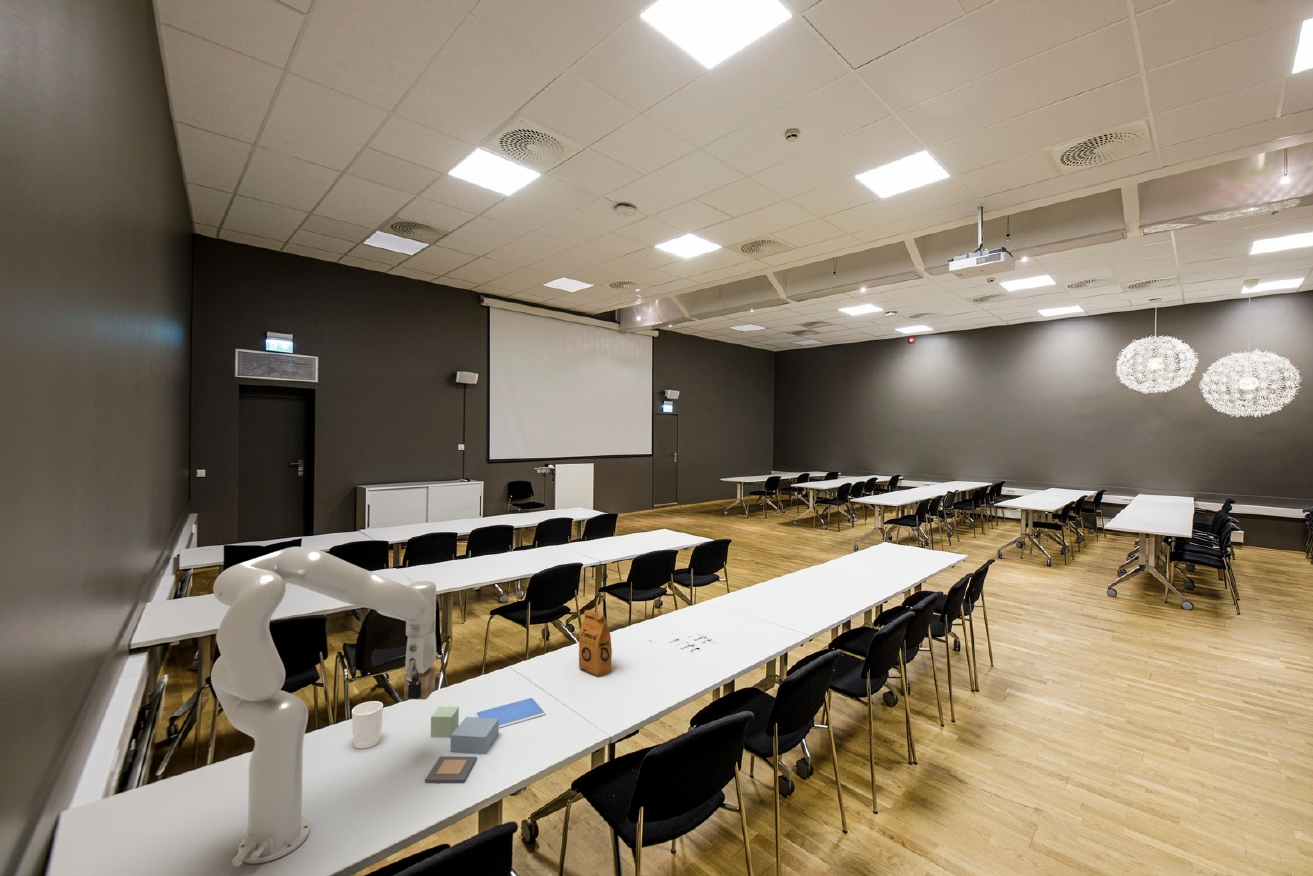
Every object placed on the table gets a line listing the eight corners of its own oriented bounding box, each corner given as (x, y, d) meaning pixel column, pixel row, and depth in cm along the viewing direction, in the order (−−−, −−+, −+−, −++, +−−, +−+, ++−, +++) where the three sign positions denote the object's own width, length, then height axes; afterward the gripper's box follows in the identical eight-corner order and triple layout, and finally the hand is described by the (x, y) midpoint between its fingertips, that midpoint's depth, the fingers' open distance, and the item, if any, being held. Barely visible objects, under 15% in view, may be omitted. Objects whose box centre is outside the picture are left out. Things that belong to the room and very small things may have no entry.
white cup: (347, 752, 149) (348, 716, 149) (355, 737, 156) (356, 702, 156) (378, 748, 151) (379, 712, 151) (385, 733, 158) (385, 699, 158)
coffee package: (595, 679, 196) (595, 619, 196) (575, 669, 205) (576, 611, 205) (615, 671, 203) (616, 614, 203) (595, 661, 212) (596, 606, 212)
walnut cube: (426, 699, 145) (426, 677, 145) (403, 699, 145) (404, 677, 145) (434, 689, 151) (435, 668, 151) (413, 689, 151) (413, 667, 151)
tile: (464, 783, 136) (464, 778, 136) (424, 782, 136) (425, 778, 136) (476, 759, 146) (476, 755, 146) (440, 759, 146) (440, 755, 146)
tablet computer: (484, 734, 160) (484, 730, 160) (474, 716, 170) (474, 711, 170) (546, 716, 170) (546, 712, 170) (532, 700, 181) (532, 696, 181)
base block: (485, 755, 149) (485, 737, 149) (450, 753, 150) (450, 735, 150) (498, 735, 159) (498, 718, 159) (466, 733, 159) (466, 716, 160)
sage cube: (451, 737, 157) (451, 717, 157) (430, 737, 157) (431, 716, 157) (458, 726, 163) (458, 706, 163) (438, 726, 163) (438, 706, 163)
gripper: (421, 639, 140) (420, 707, 139) (446, 617, 157) (444, 678, 157) (392, 638, 139) (391, 707, 139) (420, 617, 157) (419, 678, 157)
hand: (419, 691), depth 148 cm, fingers closed on walnut cube, 6 cm apart
